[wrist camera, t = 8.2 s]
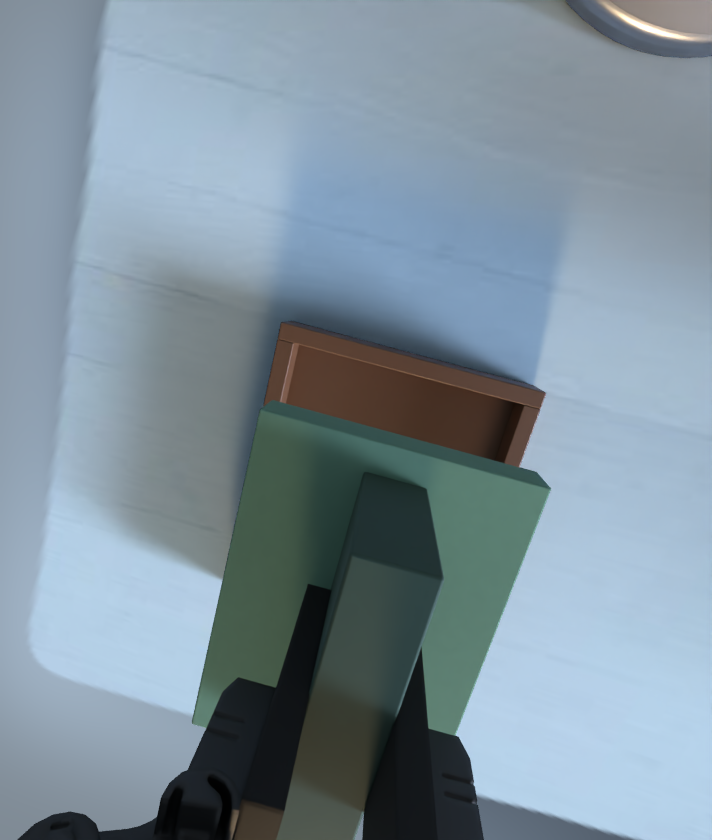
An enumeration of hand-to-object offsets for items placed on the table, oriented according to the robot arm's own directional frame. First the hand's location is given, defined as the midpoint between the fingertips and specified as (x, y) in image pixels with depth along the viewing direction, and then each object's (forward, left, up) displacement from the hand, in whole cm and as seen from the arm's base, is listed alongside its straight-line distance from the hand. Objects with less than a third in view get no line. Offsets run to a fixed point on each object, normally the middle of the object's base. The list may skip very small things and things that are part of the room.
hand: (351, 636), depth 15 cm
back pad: (0, 0, -2) cm, 2 cm away
